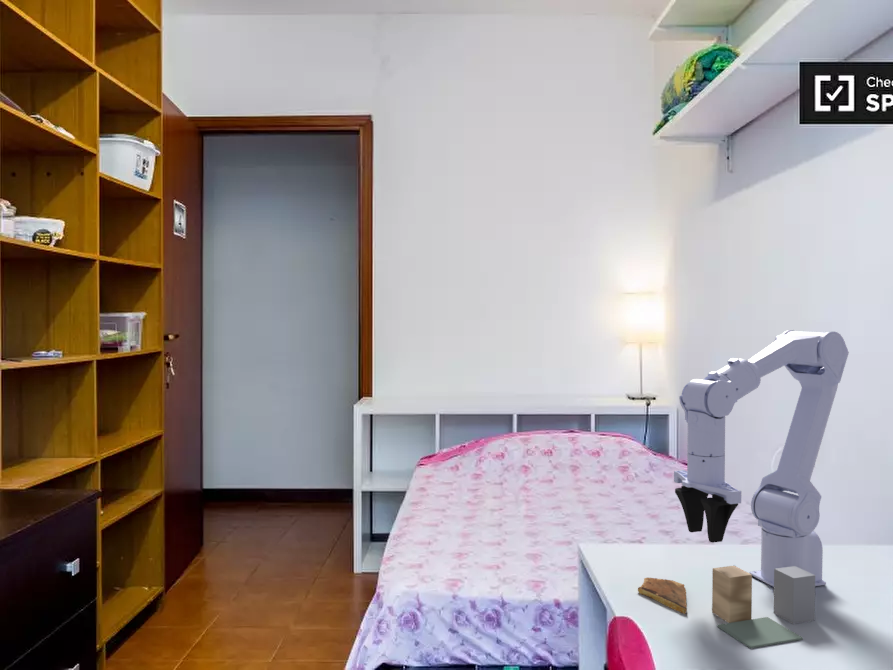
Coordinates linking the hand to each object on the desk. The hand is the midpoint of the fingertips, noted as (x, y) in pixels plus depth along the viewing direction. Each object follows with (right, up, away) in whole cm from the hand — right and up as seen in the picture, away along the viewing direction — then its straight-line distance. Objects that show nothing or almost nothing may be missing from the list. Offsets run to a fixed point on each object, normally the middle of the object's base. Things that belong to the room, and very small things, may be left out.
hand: (705, 536), depth 114 cm
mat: (+4, -11, -12) cm, 16 cm away
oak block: (+2, -11, -6) cm, 12 cm away
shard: (-5, -11, +2) cm, 12 cm away
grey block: (+11, -11, -6) cm, 17 cm away
